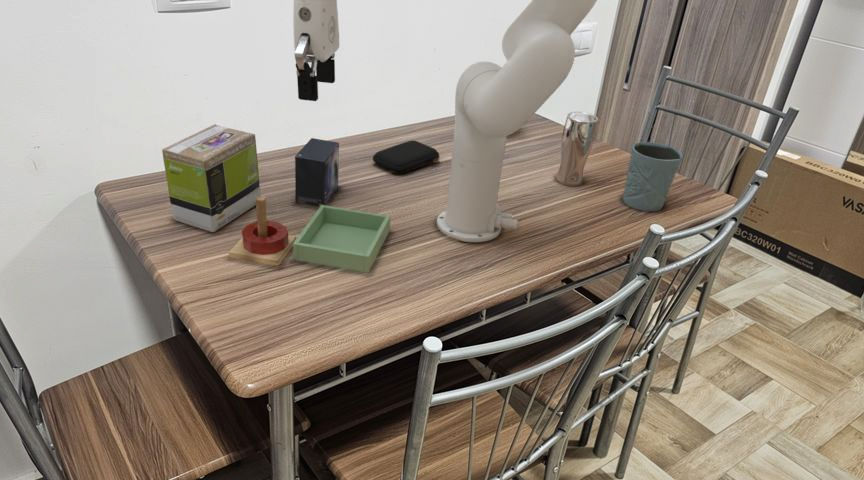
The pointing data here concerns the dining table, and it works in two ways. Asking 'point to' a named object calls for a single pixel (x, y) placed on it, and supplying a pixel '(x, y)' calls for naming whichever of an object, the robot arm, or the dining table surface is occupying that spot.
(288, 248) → the peg stand
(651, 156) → the grey-green embossed cup
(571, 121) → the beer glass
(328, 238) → the bin
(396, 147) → the carrying case
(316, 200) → the small box
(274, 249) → the ring
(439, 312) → the dining table surface
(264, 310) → the dining table surface
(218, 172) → the tea box
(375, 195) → the dining table surface
